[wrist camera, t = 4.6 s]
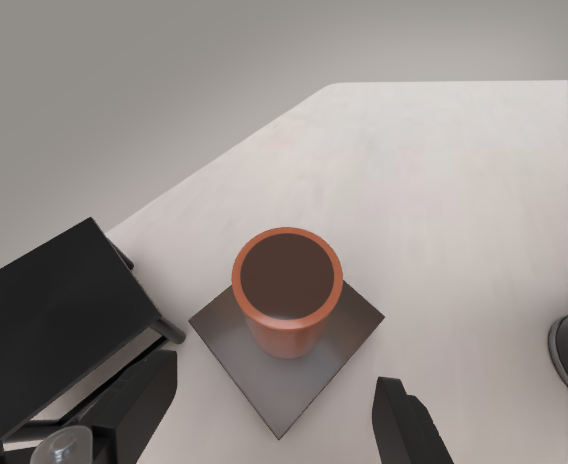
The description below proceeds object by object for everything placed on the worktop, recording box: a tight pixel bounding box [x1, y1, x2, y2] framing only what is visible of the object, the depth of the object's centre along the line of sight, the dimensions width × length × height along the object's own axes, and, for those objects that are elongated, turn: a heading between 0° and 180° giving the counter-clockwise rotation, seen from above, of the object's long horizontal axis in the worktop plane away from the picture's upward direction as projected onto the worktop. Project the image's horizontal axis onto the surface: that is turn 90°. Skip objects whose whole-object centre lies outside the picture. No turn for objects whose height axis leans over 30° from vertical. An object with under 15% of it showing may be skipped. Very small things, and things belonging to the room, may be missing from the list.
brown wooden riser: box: [188, 280, 385, 440], centre depth 26 cm, size 12×11×5 cm
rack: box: [0, 217, 185, 444], centre depth 24 cm, size 12×12×8 cm
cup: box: [231, 227, 343, 359], centre depth 20 cm, size 6×6×9 cm
